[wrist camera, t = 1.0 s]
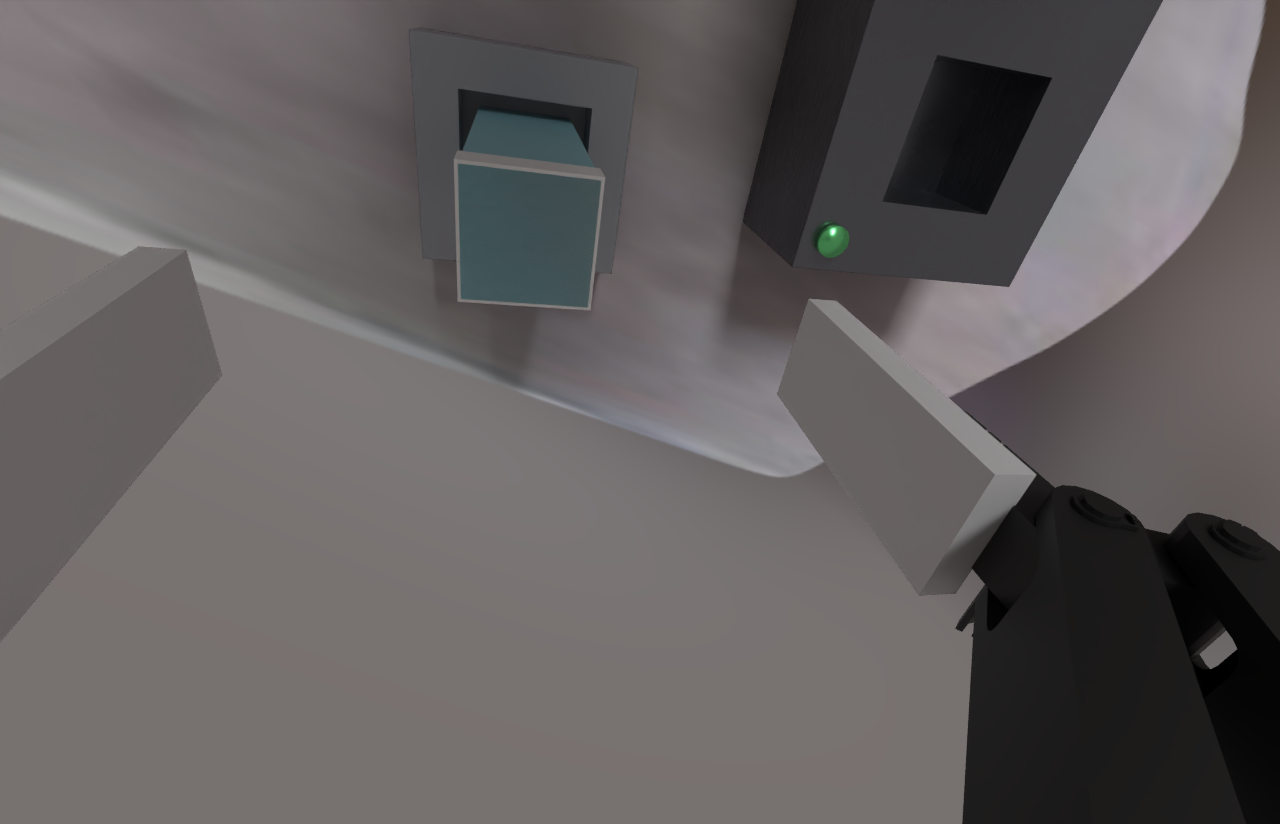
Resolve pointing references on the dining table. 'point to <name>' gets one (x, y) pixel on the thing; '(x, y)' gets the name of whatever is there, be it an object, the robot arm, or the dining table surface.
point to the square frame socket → (522, 81)
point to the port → (933, 130)
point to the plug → (526, 212)
